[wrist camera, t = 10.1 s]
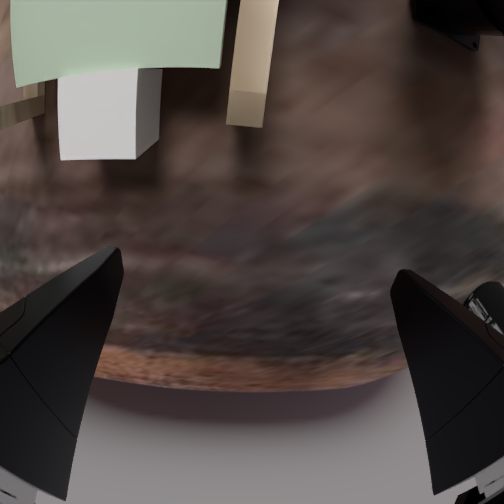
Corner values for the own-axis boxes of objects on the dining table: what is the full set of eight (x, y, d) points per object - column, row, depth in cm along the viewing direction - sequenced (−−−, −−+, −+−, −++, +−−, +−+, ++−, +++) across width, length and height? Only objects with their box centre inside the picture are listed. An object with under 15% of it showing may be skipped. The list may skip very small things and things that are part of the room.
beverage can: (502, 291, 29) (548, 356, 19) (469, 324, 31) (508, 393, 21) (492, 268, 26) (547, 341, 16) (454, 305, 29) (500, 384, 19)
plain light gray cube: (138, 68, 12) (135, 159, 15) (162, 69, 16) (158, 139, 19) (57, 78, 12) (60, 160, 14) (95, 73, 16) (95, 140, 19)
